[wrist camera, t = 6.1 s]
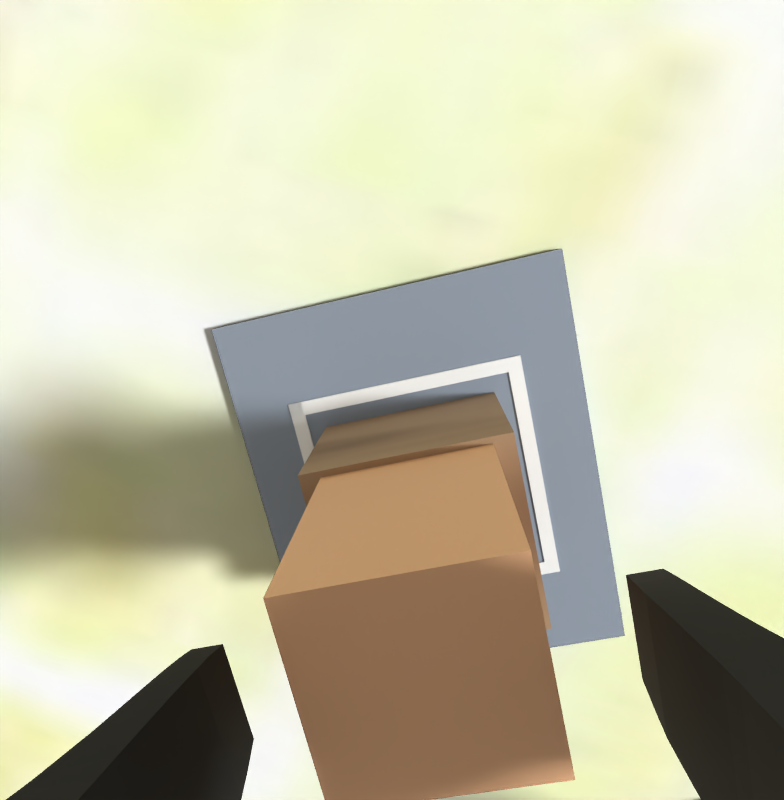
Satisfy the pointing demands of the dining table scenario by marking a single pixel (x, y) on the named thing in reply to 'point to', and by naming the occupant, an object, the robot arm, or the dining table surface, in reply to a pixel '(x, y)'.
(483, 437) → the walnut block
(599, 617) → the mat
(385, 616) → the terracotta block
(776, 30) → the dining table surface
